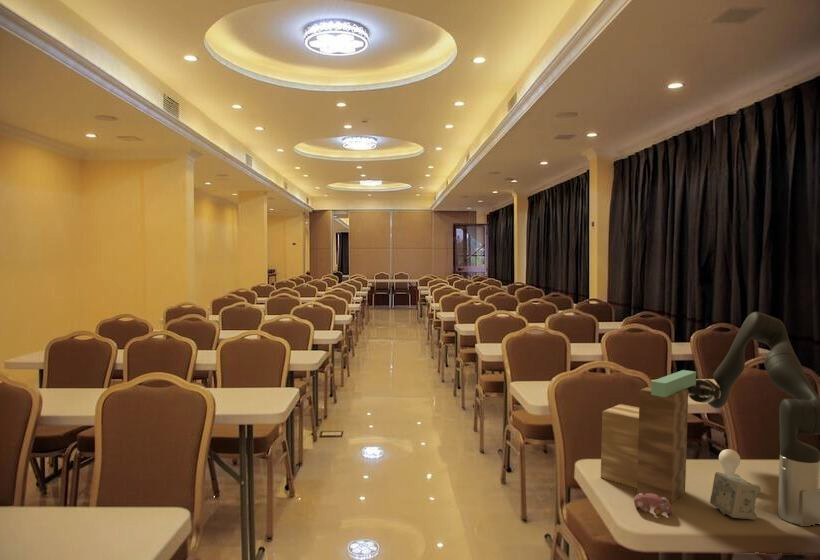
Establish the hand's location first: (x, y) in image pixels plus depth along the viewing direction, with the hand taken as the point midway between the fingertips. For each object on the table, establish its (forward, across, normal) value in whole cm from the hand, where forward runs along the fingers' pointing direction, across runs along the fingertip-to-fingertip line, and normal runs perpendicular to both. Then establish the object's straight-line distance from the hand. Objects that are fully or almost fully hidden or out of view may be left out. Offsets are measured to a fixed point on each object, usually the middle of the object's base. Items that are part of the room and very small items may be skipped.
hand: (691, 388), depth 187 cm
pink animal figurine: (+24, 0, +37) cm, 44 cm away
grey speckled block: (+10, +18, +32) cm, 38 cm away
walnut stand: (+9, -2, +33) cm, 34 cm away
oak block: (+2, -14, +32) cm, 36 cm away
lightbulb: (-14, +12, +28) cm, 33 cm away
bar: (+13, -2, +1) cm, 13 cm away
